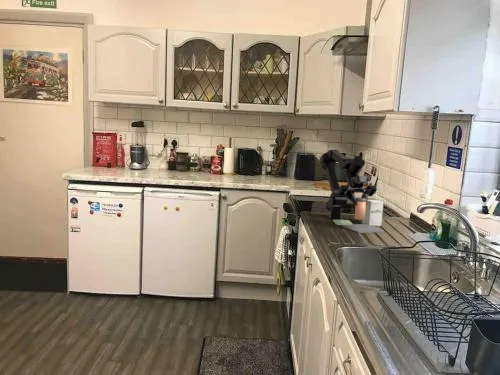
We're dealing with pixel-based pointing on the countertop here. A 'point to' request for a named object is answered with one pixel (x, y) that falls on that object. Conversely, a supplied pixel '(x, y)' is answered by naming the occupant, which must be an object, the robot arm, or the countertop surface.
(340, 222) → the sage tile
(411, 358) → the countertop surface
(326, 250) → the countertop surface
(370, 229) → the gray board
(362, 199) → the terracotta jar
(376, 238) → the countertop surface
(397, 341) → the countertop surface
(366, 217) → the supplement box
